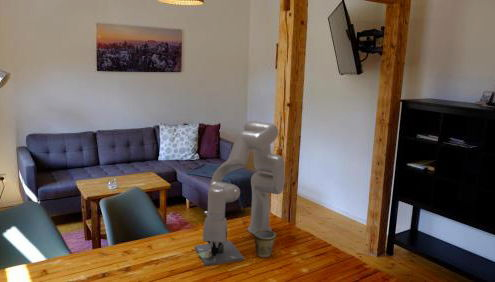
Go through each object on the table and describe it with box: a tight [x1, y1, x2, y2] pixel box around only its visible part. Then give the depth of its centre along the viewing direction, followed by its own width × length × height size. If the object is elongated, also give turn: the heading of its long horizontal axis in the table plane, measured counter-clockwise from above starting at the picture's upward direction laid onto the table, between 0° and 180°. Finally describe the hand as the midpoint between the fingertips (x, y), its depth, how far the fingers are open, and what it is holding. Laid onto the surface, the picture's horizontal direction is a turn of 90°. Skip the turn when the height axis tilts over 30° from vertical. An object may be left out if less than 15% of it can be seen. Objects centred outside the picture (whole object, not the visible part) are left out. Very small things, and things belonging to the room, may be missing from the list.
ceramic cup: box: [253, 229, 277, 258], centre depth 190 cm, size 13×10×10 cm
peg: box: [205, 242, 224, 258], centre depth 184 cm, size 11×4×4 cm, turn 147°
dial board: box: [194, 240, 245, 267], centre depth 187 cm, size 18×19×1 cm
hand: (214, 254), depth 181 cm, fingers closed
